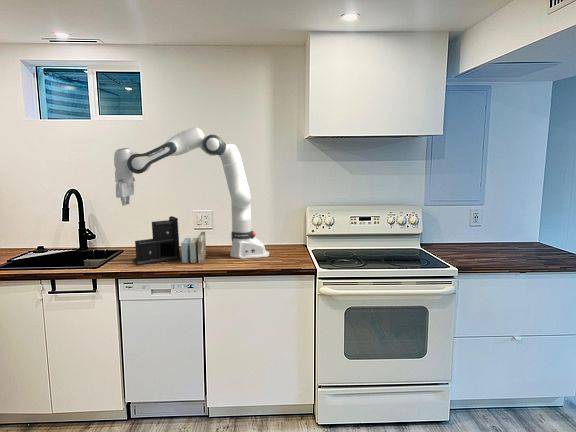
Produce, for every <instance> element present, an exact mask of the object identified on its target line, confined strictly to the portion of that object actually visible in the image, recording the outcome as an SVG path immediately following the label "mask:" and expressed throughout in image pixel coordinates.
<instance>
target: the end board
mask: <svg viewBox="0 0 576 432" xmlns="http://www.w3.org/2000/svg"><path fill="white" fill-rule="evenodd" d="M197 238H198V260H197V262H198V264H203V263H204V261H205V258H206V257H207V247H206V231H201V232H200V233H199V234H198V236H197Z"/></svg>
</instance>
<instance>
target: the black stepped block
mask: <svg viewBox="0 0 576 432" xmlns="http://www.w3.org/2000/svg"><path fill="white" fill-rule="evenodd" d="M178 219H179V218H178V217H176V216H172V215H171V216H169V217H168V220H167V219H166V220H157V221H151V229H152V232H151V233H152V238H147V239H140V240H135V241H134V245H135V258H134V257H133V259H132V263H133V264H134V265H136V266H137V267H138V266H144V265H150V264H151V265H152V264H158V263H164V262H171V261H178V260H181V253H180V250H181V249H180V236H179V221H178Z"/></svg>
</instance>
